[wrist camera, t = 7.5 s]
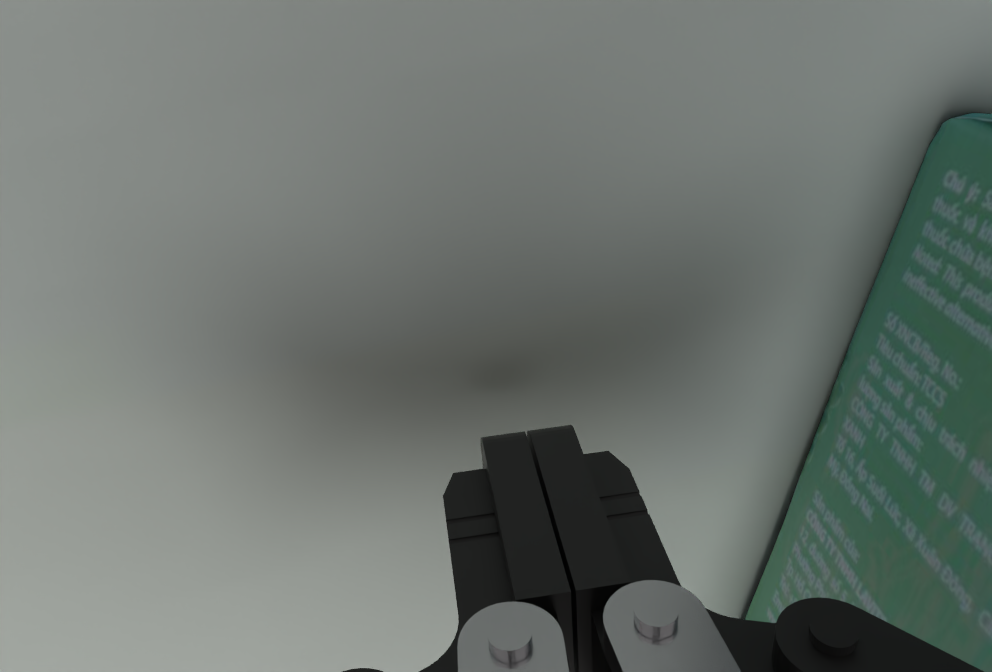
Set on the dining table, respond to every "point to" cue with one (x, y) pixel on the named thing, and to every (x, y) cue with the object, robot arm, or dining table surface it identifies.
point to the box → (910, 427)
